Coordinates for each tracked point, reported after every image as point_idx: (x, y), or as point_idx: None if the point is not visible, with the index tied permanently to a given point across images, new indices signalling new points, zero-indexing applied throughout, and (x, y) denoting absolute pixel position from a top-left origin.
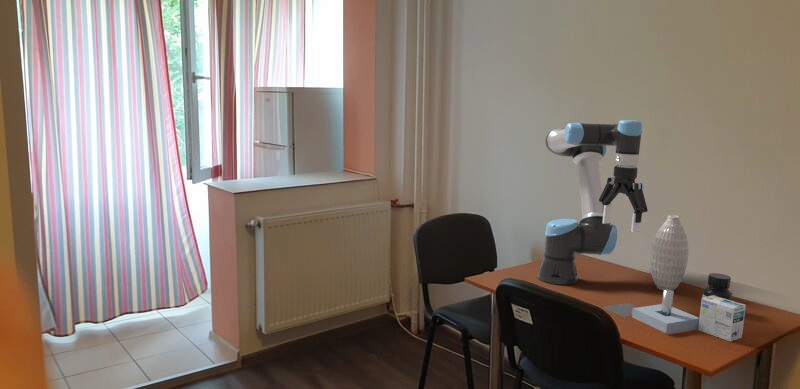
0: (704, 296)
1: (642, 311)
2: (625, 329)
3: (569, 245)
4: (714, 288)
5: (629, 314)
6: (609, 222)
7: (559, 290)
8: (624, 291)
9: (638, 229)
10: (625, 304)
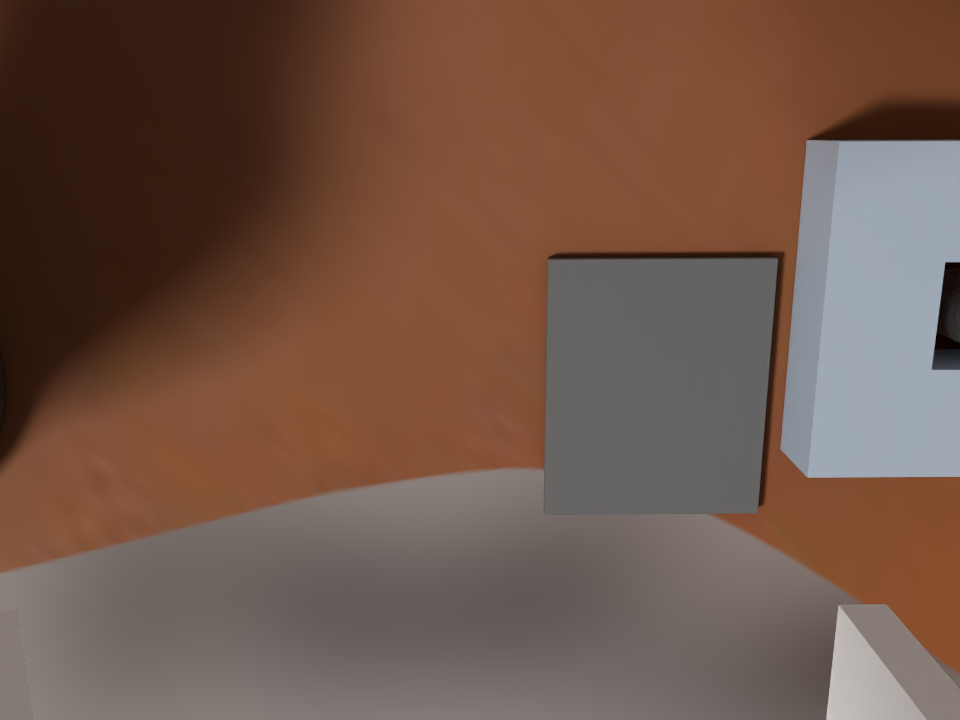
0: None
1: (886, 458)
2: None
3: None
4: None
5: (739, 431)
6: (8, 628)
7: (117, 538)
8: (272, 27)
9: (906, 644)
10: (567, 303)
